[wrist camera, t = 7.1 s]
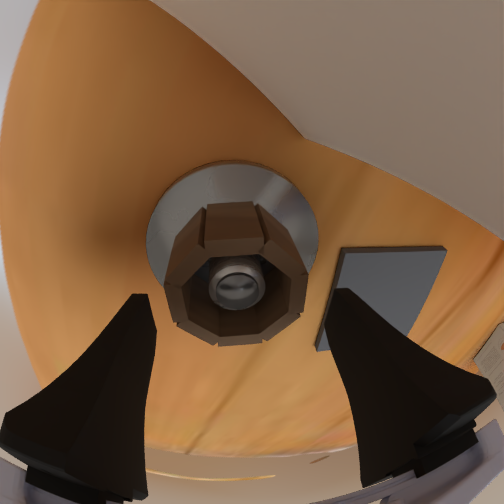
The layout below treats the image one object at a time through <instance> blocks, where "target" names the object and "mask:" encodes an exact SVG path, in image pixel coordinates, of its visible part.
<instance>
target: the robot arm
mask: <svg viewBox="0 0 504 504" xmlns="http://www.w3.org/2000/svg"><path fill="white" fill-rule="evenodd" d="M324 327H325V332H326V336H327V340H328V344H329V347H330V350H331V352H332V355H333V358H334V360H335V363H336V365H337V368H338V371H339V373H340V376H341V378H342V381H343V384H344V386H345V389H346V392H347V395H348V398H349V402H350V406H351V411H352V415H353V420H354V425H355V430H356V436H357V443H358V451H359V460H360V475H361V476H360V478H361V483H362V487H363V488H365V487H368V486H371V485H373V484H377V483H379V482H382V481H385V480H387V479H390V478H392V477H393V478H392V479H390V480H387V481H385V482H382V483H379V484H377V485H374V486H371V487H368V488H366V489H362V490H359V491H356V492H353V493H350V494H346V495H343V496H339V497H335V498H332V499H328V500H323V501H319V502H315V503H310V504H368V503H371V502H374V501H377V500H379V499H382V498H383V499H382V500H381V502H380V504H469V503H470V502H471V501H473V499H474V498H476V496H477V495H479V494H480V493H481V492H482V490H484V489H485V488H486V487H487V485H489V484H490V483H491V481H492V480H493V479H495V478H496V477H497V476H498V475H499V474H500V472H502V471H503V470H504V435H503V433H502V431H501V429H500V427H499V424H498V422H497V420H496V419H494V420H492V421H491V422H489V423H488V424H487V425H486V426H484V427H483V428H481V429H480V430H478V431H477V432H476V433H475V432H474V430H473V428H474V427H476V422H475V420H474V419H475V418H476V417H477V416H478V415H479V414H480V413H482V412H483V411H484V410H485V409H486V408H487V407H488V406H489V405H490V404H491V403H492V402H493V401H494V400H495V399H496V397H497V393H496V392H495V390H494V388H493V386H492V384H491V382H490V381H489V379H487V378H484V377H482V376H479V375H476V374H473V373H470V372H467V371H465V370H463V369H460V368H458V367H456V366H454V365H452V364H450V363H448V362H446V361H444V360H442V359H440V358H438V357H437V356H435V355H433V354H431V353H430V352H428V351H427V350H425V349H423V348H422V347H420V346H419V345H417V344H416V343H415V342H413V341H412V340H410V339H409V338H407V337H406V336H405V335H404V334H402V333H401V332H400V331H398V330H397V329H396V328H395V327H393V326H392V325H391V324H390V323H389V322H387V321H386V320H385V319H384V318H383V317H382V316H380V315H379V314H378V313H377V312H376V311H375V310H373V309H372V308H371V307H370V306H369V305H368V304H367V303H366V302H364V301H363V300H362V299H361V298H360V297H359V296H358V295H357V294H355V293H354V292H353V291H352V290H351V289H349V288H334V292H333V295H332V299H331V302H330V306H329V309H328V313H327V316H326V319H325V322H324ZM156 335H157V329H156V326H155V322H154V318H153V314H152V310H151V307H150V302H149V298H148V294H132V295H131V296H130V297H129V298H128V300H127V301H126V302H125V303H124V305H123V306H122V307H121V308H120V310H119V311H118V312H117V314H116V315H115V316H114V317H113V319H112V320H111V321H110V322H109V324H108V325H107V326H106V327H105V329H104V330H103V331H102V332H101V334H100V335H99V336H98V337H97V338H96V339H95V341H94V342H93V343H92V344H91V345H90V346H89V347H88V349H87V350H86V351H85V352H84V353H83V354H82V355H81V356H80V357H79V358H78V359H77V360H76V361H75V362H74V363H73V364H72V365H71V366H70V367H69V368H68V369H67V370H66V371H65V372H63V373H62V374H61V375H60V376H59V377H58V378H56V379H55V380H54V381H53V382H52V383H51V384H49V385H48V386H47V387H45V388H44V389H43V390H41V391H40V392H39V393H37V394H36V395H34V396H33V397H32V398H30V399H29V400H27V401H25V402H24V403H22V404H21V405H19V406H17V407H15V408H14V409H12V410H10V411H9V412H6V413H5V417H4V419H3V423H2V426H1V430H0V447H1V448H2V449H3V450H5V451H6V452H8V453H9V454H11V455H12V456H14V457H15V458H17V459H18V460H20V461H22V462H23V463H25V464H27V465H28V468H27V471H26V470H24V469H22V468H20V467H18V466H16V465H14V464H12V463H10V462H8V461H7V460H5V459H3V458H1V457H0V504H123V501H129V502H132V501H133V499H135V500H143V499H145V498H146V497H147V496H148V490H147V480H146V471H145V453H144V422H145V406H146V399H147V393H148V388H149V382H150V377H151V372H152V366H153V361H154V356H155V348H156Z"/></svg>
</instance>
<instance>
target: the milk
mask: <svg viewBox="0 0 504 504" xmlns="http://www.w3.org/2000/svg"><path fill="white" fill-rule="evenodd" d="M150 1H152V2H153V3H155V4H156V5H158V6H159V7H161V8H162V9H163V10H165V11H166V12H168V13H169V14H170V15H172V16H173V17H175V18H176V19H177V20H179V21H180V22H181V23H183V24H184V25H185V26H187V27H188V28H189V29H191V30H192V31H193V32H194V33H196V34H197V35H198V36H199V37H201V38H202V39H203V40H204V41H206V42H207V43H208V44H209V45H210V46H212V47H213V48H214V49H215V50H216V51H217V52H219V53H220V54H221V55H222V56H223V57H224V58H225V59H227V60H228V61H229V62H230V63H231V64H232V65H233V66H234V67H236V68H237V69H238V70H239V71H240V72H241V73H242V74H243V75H244V76H245V77H246V78H247V79H248V80H249V81H250V82H252V83H253V84H254V85H255V86H256V87H257V88H258V89H259V90H260V91H261V92H262V93H263V94H264V95H265V96H266V97H267V98H268V99H269V100H270V101H271V102H272V103H273V104H274V105H275V106H276V108H277V109H278V110H279V111H280V112H281V113H282V114H283V115H284V116H285V117H286V118H287V119H288V120H289V121H290V122H291V124H292V125H293V126H294V127H295V128H296V129H297V130H298V131H299V132H300V134H301V135H302V136H303V137H304V138H305V139H307V140H310V141H313V142H316V143H318V144H321V145H324V146H326V147H329V148H332V149H334V150H337V151H339V152H342V153H344V154H347V155H349V156H351V157H354V158H356V159H359V160H361V161H363V162H365V163H368V164H370V165H372V166H374V167H377V168H379V169H381V170H383V171H385V172H387V173H390V174H392V175H394V176H396V177H398V178H400V179H402V180H404V181H406V182H408V183H410V184H412V185H414V186H416V187H418V188H419V189H421V190H423V191H425V192H427V193H429V194H431V195H432V196H434V197H436V198H438V199H439V200H441V201H443V202H445V203H446V204H448V205H450V206H451V207H453V208H455V209H456V210H458V211H460V212H461V213H463V214H465V215H466V216H468V217H469V218H471V219H473V220H474V221H476V222H477V223H479V224H480V225H482V226H483V227H485V228H486V229H488V230H489V231H490V232H492V233H493V234H495V235H496V236H498V237H499V238H500V239H502V240H503V241H504V0H150Z"/></svg>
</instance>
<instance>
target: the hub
mask: <svg viewBox="0 0 504 504" xmlns="http://www.w3.org/2000/svg"><path fill="white" fill-rule="evenodd" d="M247 201H253V204H254V206H255V205H256V204H257V203H259V204H260V205H261V206H262V207H263V208H264V209H265V210H267V211H268V212H269V213H270V214H271V215H272V216H273V217H274V218H276V219H277V220H278V221H279V222H280V223H281V224H282V225H283V226H284V227H286V228H287V229H288V231H289V233H290V235H291V237H292V239H293V242H294V244H295V246H296V248H297V250H298V252H299V254H300V256H301V258H302V261H303V263H304V265H305V267H306V269H307V272H308V273H309V271H310V270H311V268H312V265H313V263H314V261H315V257H316V254H317V249H318V228H317V222H316V219H315V216H314V213H313V211H312V209H311V207H310V205H309V203H308V202H307V200H306V199H305V198H304V196H303V195H302V194H301V193H300V191H299V190H298V189H297V187H296V186H295V185H294V184H293V183H292V182H291V181H289V180H288V179H287V178H286V177H284V176H283V175H282V174H280V173H279V172H277V171H275V170H273V169H271V168H269V167H266V166H264V165H261V164H258V163H253V162H249V161H239V160H227V161H218V162H213V163H209V164H206V165H203V166H200V167H197V168H195V169H193V170H192V171H190V172H188V173H186V174H185V175H183V176H182V177H180V178H179V179H177V180H176V181H175V182H174V183H173V184H172V185H171V186H170V187H169V188H168V189H167V190H166V192H165V193H164V194H163V195H162V197H161V199H160V200H159V202H158V204H157V206H156V208H155V210H154V212H153V214H152V216H151V219H150V221H149V224H148V229H147V234H146V250H147V256H148V260H149V264H150V266H151V269H152V271H153V273H154V275H155V277H156V278H157V280H158V281H159V283H160V284H161V285H162V286H163V284H164V280H165V276H166V271H167V267H168V263H169V259H170V255H171V251H172V247H173V243H174V239H175V237H176V235H177V234H178V233H179V232H180V231H181V230H182V228H183V227H184V226H185V225H186V224H187V223H188V222H189V221H190V219H191V218H192V217H193V216H194V215H195V214H196V213H197V212H198V211H199V209H200V208H201V207H204V208H205V209H206V210H207V204H215V203H230V202H247ZM274 267H275V266H274V265H273V264H272V263H271V262H269V261H268V260H267V259H265V258H264V257H263V256H262V255H260V254H253V255H239V256H224V257H210V258H209V259H208V260H207V261H206V262H205V263H204V264H203V265H202V266H201V267H200V268H199V269H198V270H197V271H196V272H195V273H194V274H195V275H197V276H198V277H200V278H201V279H203V280H204V281H206V282H207V283H209V294H210V297H211V299H212V300H213V301H214V302H215V303H216V304H217V305H219V306H220V307H222V308H225V309H229V310H242V309H246V308H249V307H251V306H253V305H255V304H256V303H257V302H259V301H260V299H261V298H262V297H263V295H264V292H265V281H264V276H265V275H266V274H267V273H268V272H269V271H270V270H271V269H273V268H274ZM163 288H164V286H163Z"/></svg>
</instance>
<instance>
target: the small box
mask: <svg viewBox="0 0 504 504" xmlns="http://www.w3.org/2000/svg"><path fill="white" fill-rule="evenodd" d="M473 360H474V362H475V363H476V365H477V366H478V368H479V370H480V371H481V373H482V374H483V376H484V378H487V379H489V381H490V382H491V384H492V386H493V388H494V390H495V392H496V393H497V397H496V398H497V399H498V401H499V403H500V405H501V407H502V409H503V411H504V322H503V323H501V324H499V325H498V326H497V328H496V329H495V331H494V332H493V334H492V335H491V337H490V338H489V339H488V341H487V342H486V344H485V345H484V346H483V348H482V349H481V350H480V352H479V353H478V354H477V355H476V357H475V358H474V359H473Z"/></svg>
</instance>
